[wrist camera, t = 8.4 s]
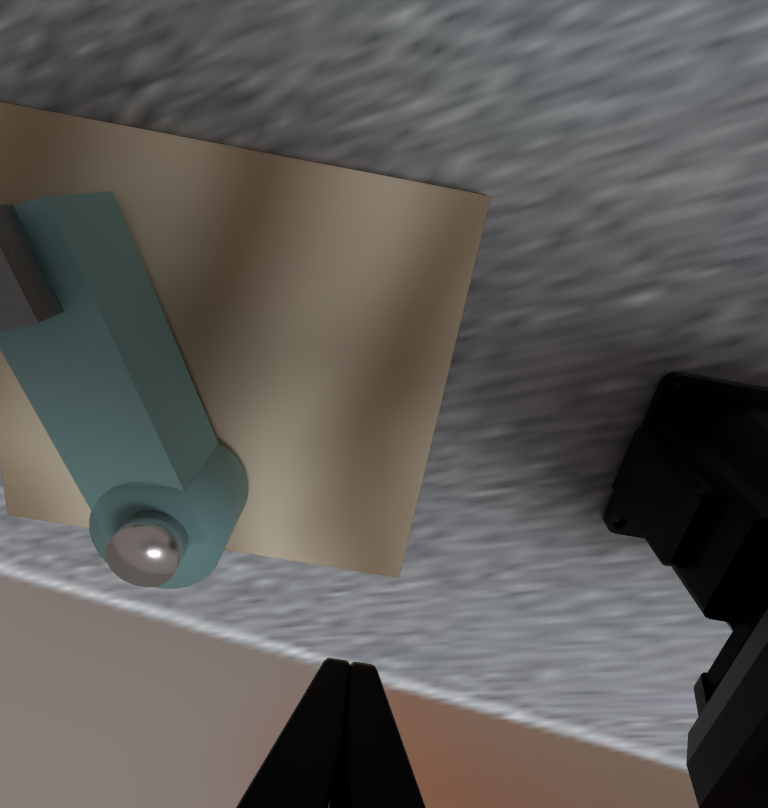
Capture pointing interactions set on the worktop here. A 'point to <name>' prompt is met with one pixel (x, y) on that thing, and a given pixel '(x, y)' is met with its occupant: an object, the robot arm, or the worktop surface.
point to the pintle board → (260, 323)
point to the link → (123, 400)
